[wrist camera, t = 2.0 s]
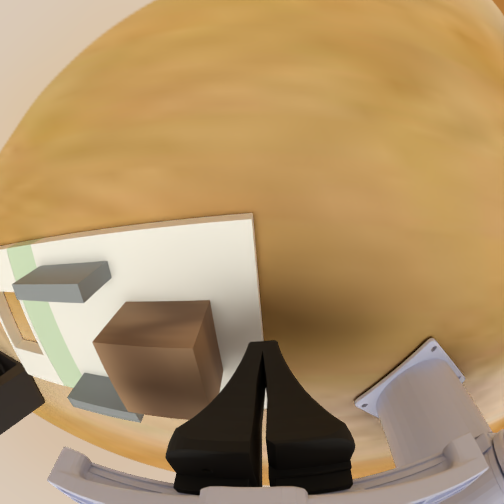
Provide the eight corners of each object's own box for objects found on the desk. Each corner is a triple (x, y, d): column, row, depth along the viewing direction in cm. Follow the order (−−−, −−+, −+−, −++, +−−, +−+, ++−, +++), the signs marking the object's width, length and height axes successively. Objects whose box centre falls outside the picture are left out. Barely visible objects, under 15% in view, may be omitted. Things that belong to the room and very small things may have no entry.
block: (209, 300, 14) (192, 348, 10) (223, 370, 15) (214, 421, 12) (125, 301, 14) (92, 342, 10) (148, 367, 16) (128, 411, 12)
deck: (252, 212, 14) (248, 237, 10) (267, 393, 18) (268, 442, 14) (-13, 248, 15) (-45, 266, 11) (35, 365, 19) (13, 391, 15)
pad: (43, 237, 15) (30, 244, 13) (99, 381, 19) (92, 392, 18) (18, 242, 15) (6, 248, 14) (71, 375, 19) (64, 385, 18)
